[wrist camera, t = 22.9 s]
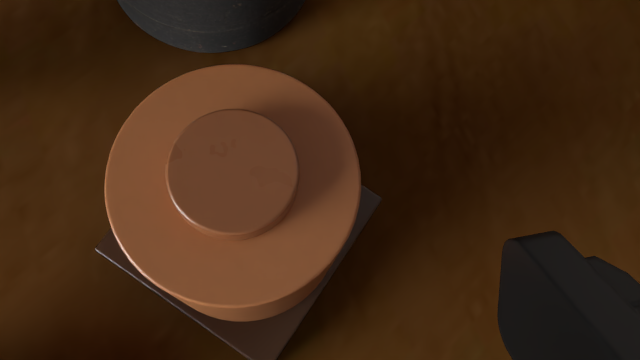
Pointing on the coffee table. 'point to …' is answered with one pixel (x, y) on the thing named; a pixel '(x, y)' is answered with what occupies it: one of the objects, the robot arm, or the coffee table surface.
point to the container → (211, 21)
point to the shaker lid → (233, 190)
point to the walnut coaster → (261, 335)
